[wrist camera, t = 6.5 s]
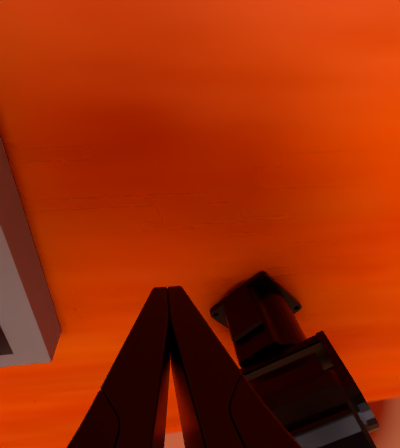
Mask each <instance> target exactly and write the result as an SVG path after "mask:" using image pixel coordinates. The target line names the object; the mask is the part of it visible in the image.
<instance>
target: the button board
mask: <svg viewBox="0 0 400 448" xmlns="http://www.w3.org/2000/svg"><path fill="white" fill-rule="evenodd" d="M60 334H61V328H60V324H59V321H58V318H57V315H56V312H55V308H54V305H53V302H52V299H51V296H50V293H49V289H48V286H47V283H46V280H45V277H44V273H43V270H42V267H41V264H40V261H39V257H38V254H37V251H36V248H35V245H34V241H33V238H32V235H31V232H30V229H29V225H28V222H27V219H26V216H25V213H24V210H23V206H22V203H21V200H20V197H19V194H18V190H17V187H16V184H15V181H14V178H13V174H12V171H11V168H10V165H9V162H8V158H7V155H6V152H5V149H4V146H3V143H2V139H1V136H0V367H6V366H16V365H27V364H37V363H47V362H52V359H53V356H54V353H55V349H56V346H57V343H58V340H59V337H60Z"/></svg>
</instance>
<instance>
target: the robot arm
mask: <svg viewBox="0 0 400 448" xmlns="http://www.w3.org/2000/svg"><path fill="white" fill-rule="evenodd" d="M263 277H264V278H263ZM261 278H262V279H261ZM301 307H302V306H301V304H300V303H299V301H297V300H296V299H295V298H294V297H293V296H292V295H291V294H290V293H288V292H287V291H286V290H285V289H284V288H283V287H282V286H281V285H279V284H278V283H277V282H276V281H275V280H274V279H273V278H272V277H270V276H269V275H268V274H267V273H265V272H261V273H259V274H257V275H256V276H255V277H253V278H252V279H251V280H249V281H248V282H247V283H245V284H244V285H243V286H241V287H240V288H239V289H237V290H236V291H235V292H233V293H232V294H231V295H229V296H228V297H227V298H225V299H224V300H223V301H221V302H220V303H219V304H217V305H216V306H215V307H213V308H212V309H211V310H210V314H211V317H212V318H214V319H215V320H217V321H218V322H220V323H221V324H223V325H224V326H226V327H227V328H229V331H230V335H231V339H232V341H233V344H234V348H235V351H236V355H237V359H238V362H239V365H240V367H241V369H239V368H238V366H237V365H236V364H235V362H234V361H233V359H232V358H231V356H230V355H229V354H228V352H227V351H226V349H225V348H224V346H223V345H222V344H221V342H220V341H219V339H218V338H217V336H216V335H215V334H214V332H213V331H212V329H211V328H210V326H209V325H208V324H207V322H206V321H205V319H204V318H203V316H202V315H201V314H200V312H199V311H198V309H197V308H196V306H195V305H194V304H193V302H192V301H191V299H190V298H189V296H188V295H187V294H186V292H185V291H184V289H183V288H182V287H181V286H170V287H168V289H167V288H166V287H155V288H153V289H152V291H151V293H150V295H149V297H148V299H147V301H146V302H145V304H144V306H143V308H142V310H141V312H140V314H139V316H138V318H137V320H136V322H135V323H134V325H133V327H132V329H131V331H130V333H129V335H128V337H127V339H126V341H125V342H124V344H123V346H122V348H121V350H120V352H119V354H118V356H117V358H116V360H115V362H114V363H113V365H112V367H111V369H110V371H109V373H108V375H107V377H106V379H105V381H104V382H103V384H102V386H101V390H100V391H99V392H98V394H97V396H96V397H95V399H94V401H93V403H92V405H91V407H90V409H89V410H88V412H87V414H86V416H85V418H84V419H83V421H82V423H81V425H80V427H79V428H78V430H77V432H76V433H75V435H74V436H73V438H72V440H71V441H70V443H69V444H68V446H67V448H164V441H165V428H166V414H167V400H168V386H169V372H170V360H171V368H172V374H173V380H174V386H175V392H176V398H177V404H178V409H179V415H180V421H181V427H182V433H183V439H184V445H185V448H376V446H375V444H374V442H373V441H372V439H371V437H370V435H369V432H373V431H375V430H378V429H380V427H379V424H378V422H377V420H376V419H375V417H374V415H373V413H372V411H371V409H370V408H369V406H368V404H367V402H366V400H365V399H364V397H363V395H362V393H361V392H360V390H359V388H358V387H357V385H356V383H355V382H354V380H353V378H352V377H351V375H350V373H349V372H348V370H347V369H346V367H345V365H344V364H343V362H342V361H341V359H340V358H339V356H338V354H337V353H336V351H335V350H334V348H333V346H332V345H331V343H330V342H329V340H328V338H327V337H326V335H325V334H324V332H323V331H320V332H318V333H316V335H315V336H313V337H310V338H308V339H306V337H305V335H304V333H303V331H302V329H301V328H300V326H299V324H298V322H297V320H296V318H295V316H294V313H296V312H297V311H299V310H300V309H301Z"/></svg>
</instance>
